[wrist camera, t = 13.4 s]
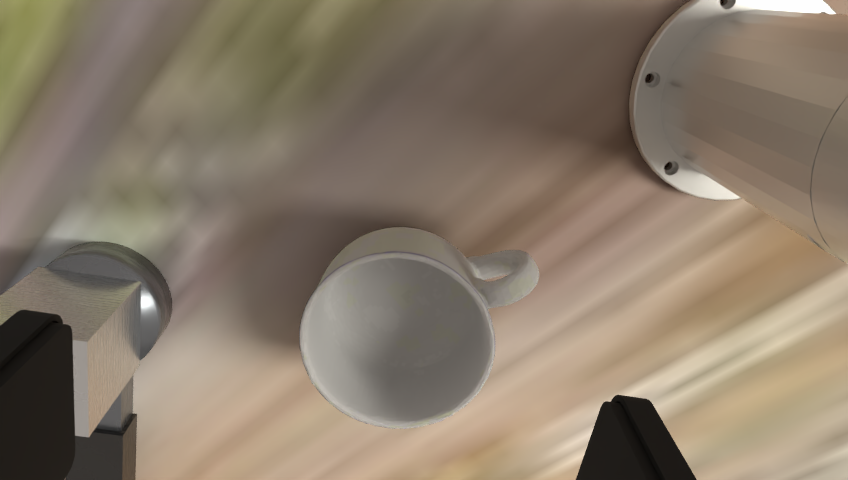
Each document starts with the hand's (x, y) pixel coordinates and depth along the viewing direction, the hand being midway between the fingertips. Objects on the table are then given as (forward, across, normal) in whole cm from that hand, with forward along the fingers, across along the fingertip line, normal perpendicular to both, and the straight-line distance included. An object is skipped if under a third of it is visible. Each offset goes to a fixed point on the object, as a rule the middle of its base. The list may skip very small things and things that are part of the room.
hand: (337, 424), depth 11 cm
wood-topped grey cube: (+26, +16, +15) cm, 34 cm away
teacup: (+28, -4, +10) cm, 30 cm away
